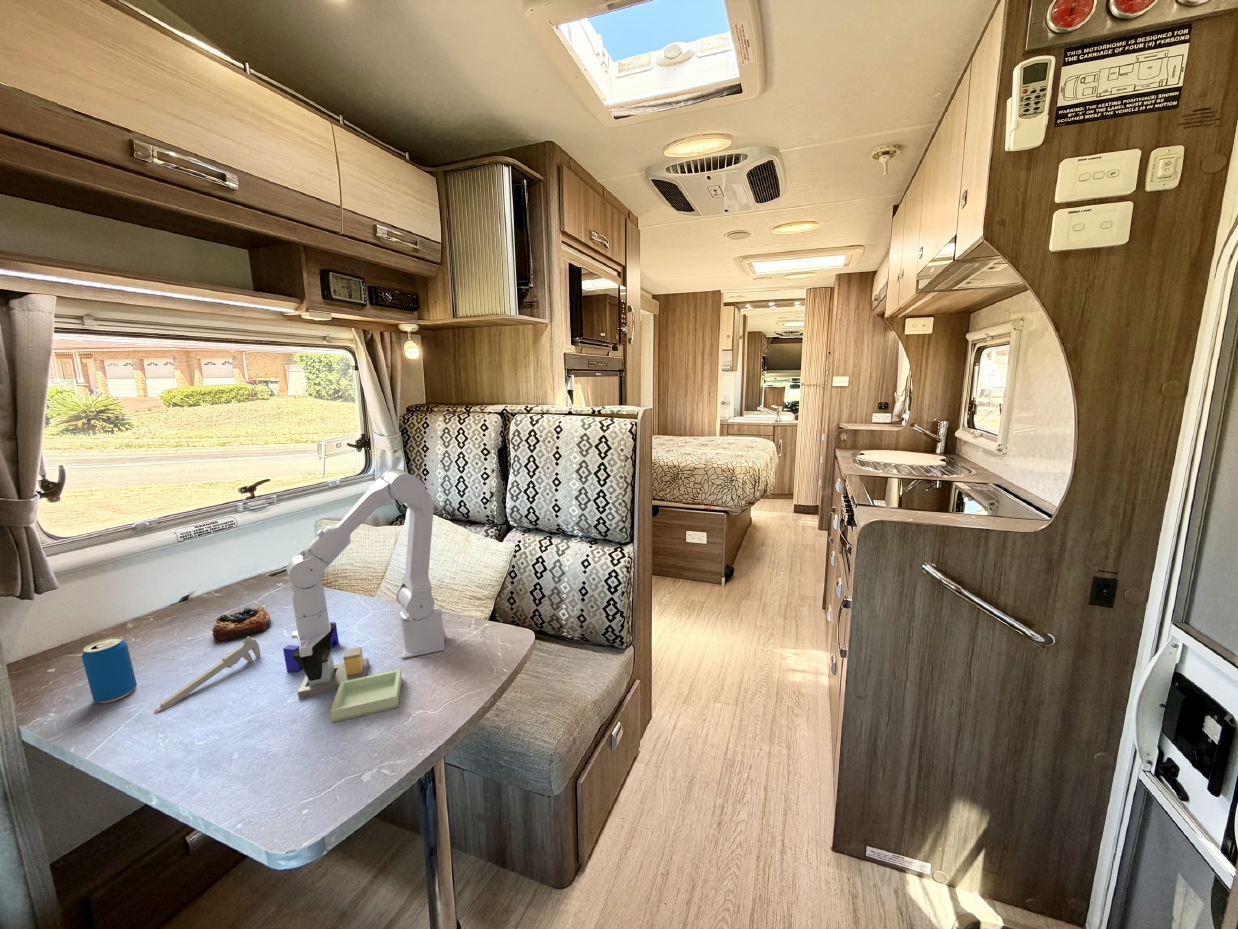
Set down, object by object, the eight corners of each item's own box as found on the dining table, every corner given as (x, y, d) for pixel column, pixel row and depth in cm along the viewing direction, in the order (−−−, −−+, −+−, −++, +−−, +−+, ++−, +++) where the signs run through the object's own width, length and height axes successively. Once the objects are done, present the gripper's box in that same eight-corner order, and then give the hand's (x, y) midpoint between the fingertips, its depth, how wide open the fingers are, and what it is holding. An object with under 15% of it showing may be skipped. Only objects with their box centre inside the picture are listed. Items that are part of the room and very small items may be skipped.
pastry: (217, 628, 128) (213, 608, 127) (272, 615, 134) (268, 596, 133) (211, 647, 119) (206, 625, 118) (269, 632, 125) (266, 611, 124)
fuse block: (368, 664, 109) (365, 640, 108) (363, 684, 102) (359, 660, 101) (309, 676, 105) (305, 652, 104) (298, 698, 98) (294, 673, 97)
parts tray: (402, 679, 103) (400, 669, 103) (397, 707, 94) (396, 696, 94) (342, 692, 100) (340, 681, 99) (332, 723, 91) (330, 711, 90)
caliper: (257, 656, 114) (253, 633, 113) (261, 657, 114) (256, 633, 113) (153, 713, 95) (147, 686, 94) (157, 714, 95) (150, 687, 94)
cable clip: (323, 642, 119) (320, 621, 118) (339, 644, 118) (335, 622, 117) (281, 671, 108) (277, 647, 107) (298, 673, 107) (294, 649, 106)
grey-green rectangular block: (335, 675, 105) (331, 648, 104) (331, 686, 102) (327, 659, 100) (314, 680, 104) (310, 652, 103) (309, 691, 100) (304, 663, 99)
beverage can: (105, 690, 102) (92, 640, 100) (143, 682, 105) (132, 633, 103) (86, 709, 97) (72, 656, 94) (128, 700, 99) (115, 648, 97)
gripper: (299, 599, 105) (307, 654, 108) (277, 631, 92) (287, 693, 94) (335, 593, 107) (342, 648, 110) (319, 624, 94) (328, 685, 96)
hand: (320, 668), depth 102 cm, fingers open, 7 cm apart
